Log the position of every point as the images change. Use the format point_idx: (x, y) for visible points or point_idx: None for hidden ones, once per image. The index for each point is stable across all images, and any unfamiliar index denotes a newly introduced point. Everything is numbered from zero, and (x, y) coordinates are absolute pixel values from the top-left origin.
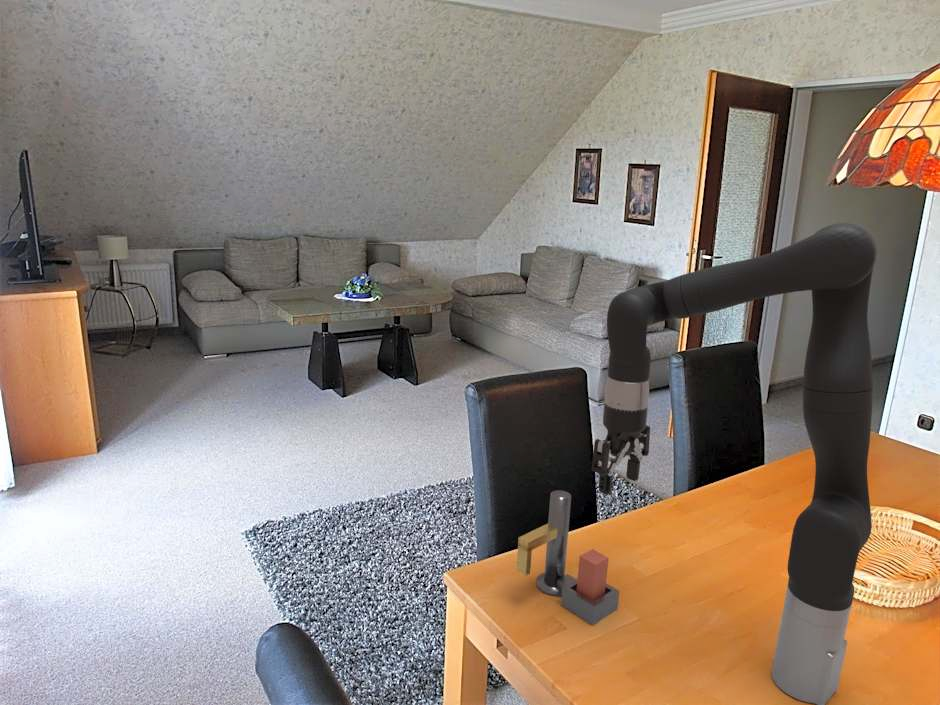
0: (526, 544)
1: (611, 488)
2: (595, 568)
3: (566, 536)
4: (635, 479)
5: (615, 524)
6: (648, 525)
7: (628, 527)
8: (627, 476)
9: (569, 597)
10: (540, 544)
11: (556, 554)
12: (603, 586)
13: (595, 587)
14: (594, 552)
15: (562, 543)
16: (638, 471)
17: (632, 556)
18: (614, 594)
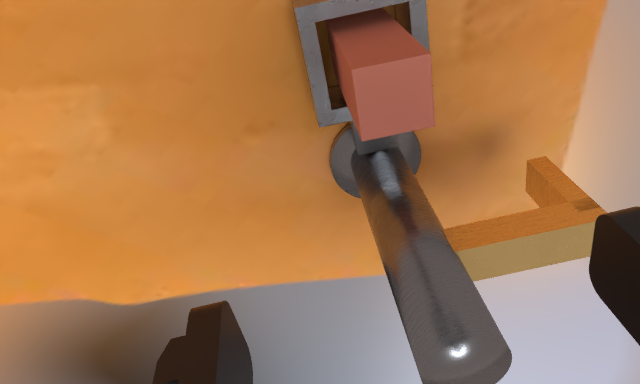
0: None
1: (637, 239)
2: (425, 49)
3: (407, 224)
4: (224, 312)
5: (44, 297)
6: None
7: (13, 277)
8: (249, 364)
9: None
10: (528, 214)
11: (421, 193)
12: (346, 36)
13: (393, 30)
14: (372, 120)
15: (417, 209)
16: (192, 376)
17: (83, 173)
18: (319, 2)
